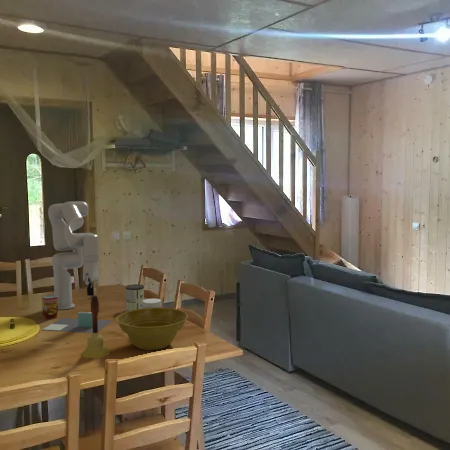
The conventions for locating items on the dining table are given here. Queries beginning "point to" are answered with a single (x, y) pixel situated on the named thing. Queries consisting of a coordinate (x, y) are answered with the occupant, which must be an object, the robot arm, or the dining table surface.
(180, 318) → the planter bowl
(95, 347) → the handbell
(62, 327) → the pad
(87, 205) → the robot arm
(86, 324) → the tile
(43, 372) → the dining table surface
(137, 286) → the coffee can
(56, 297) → the canned food
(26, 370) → the dining table surface
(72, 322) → the mat
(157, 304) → the supplement tub
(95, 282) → the tan wooden block
